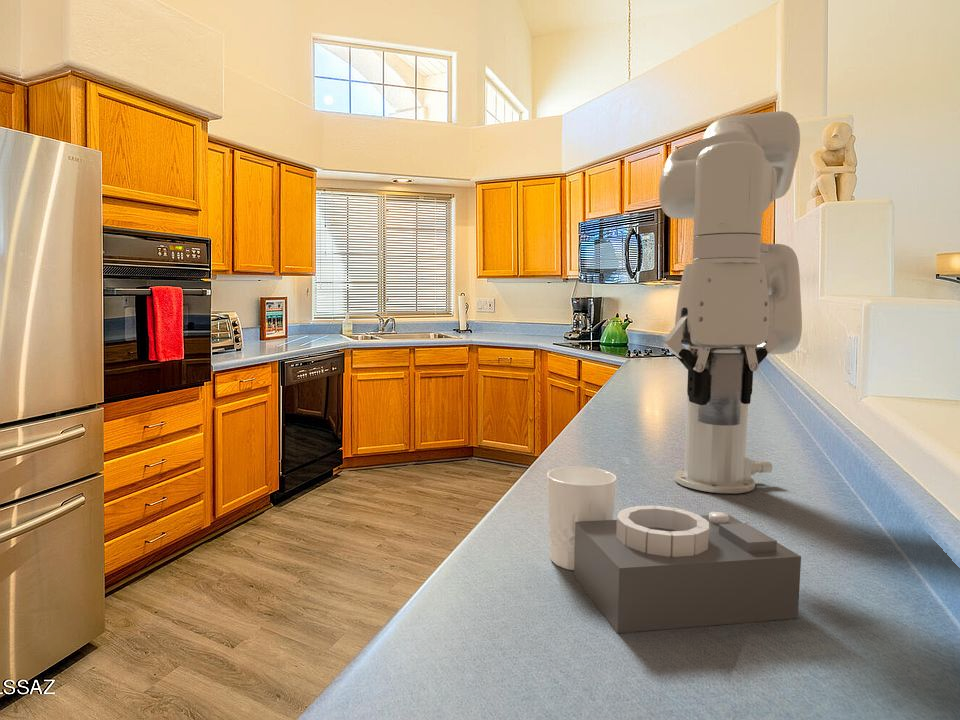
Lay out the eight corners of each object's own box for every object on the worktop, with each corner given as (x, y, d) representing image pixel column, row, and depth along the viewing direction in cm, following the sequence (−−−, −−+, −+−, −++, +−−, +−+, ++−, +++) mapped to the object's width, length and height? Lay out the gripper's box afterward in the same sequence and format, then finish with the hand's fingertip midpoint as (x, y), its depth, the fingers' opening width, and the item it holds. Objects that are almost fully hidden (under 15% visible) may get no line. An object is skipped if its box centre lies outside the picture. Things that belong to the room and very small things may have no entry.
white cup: (599, 580, 65) (601, 489, 64) (533, 564, 69) (535, 477, 68) (623, 556, 72) (626, 472, 71) (562, 542, 76) (564, 463, 75)
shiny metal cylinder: (725, 416, 78) (728, 346, 77) (749, 424, 73) (753, 349, 72) (689, 417, 77) (692, 346, 76) (710, 426, 72) (714, 350, 71)
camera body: (725, 565, 69) (728, 496, 69) (797, 618, 57) (802, 535, 57) (573, 575, 66) (575, 503, 66) (617, 633, 54) (620, 546, 54)
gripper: (770, 255, 78) (762, 396, 80) (645, 253, 75) (640, 399, 77) (811, 251, 70) (802, 406, 72) (674, 248, 68) (668, 410, 69)
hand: (719, 401), depth 75 cm, fingers closed on shiny metal cylinder, 5 cm apart
